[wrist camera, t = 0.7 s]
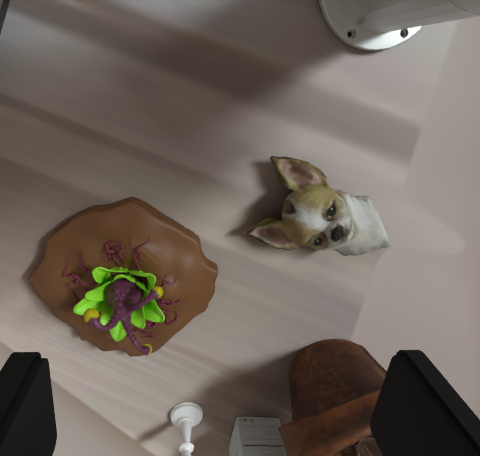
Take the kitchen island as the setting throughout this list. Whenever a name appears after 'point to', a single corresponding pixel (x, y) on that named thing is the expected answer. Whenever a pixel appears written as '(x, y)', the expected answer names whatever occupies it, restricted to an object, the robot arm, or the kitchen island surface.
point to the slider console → (3, 11)
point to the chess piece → (186, 423)
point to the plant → (125, 276)
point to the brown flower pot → (333, 401)
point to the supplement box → (256, 437)
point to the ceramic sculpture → (320, 215)
